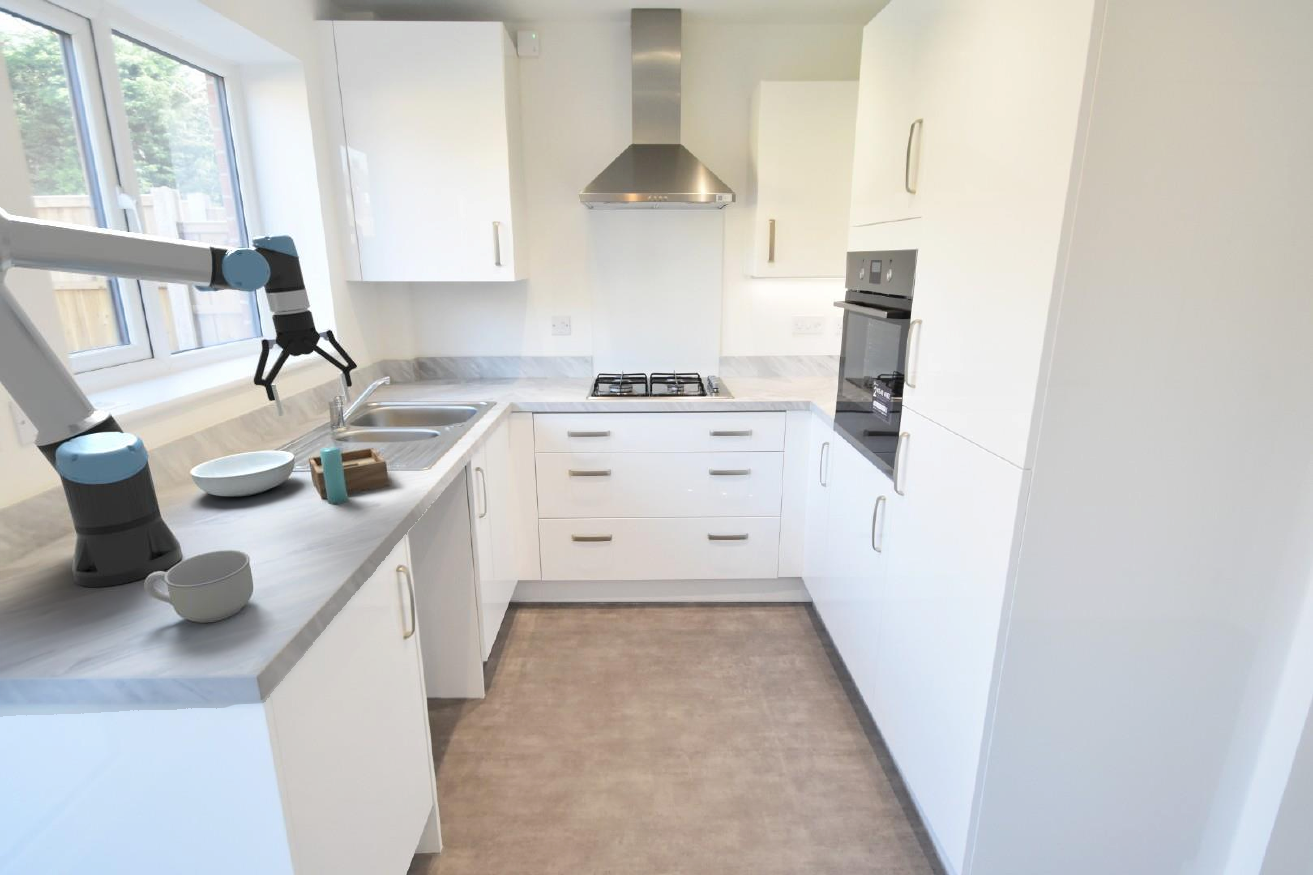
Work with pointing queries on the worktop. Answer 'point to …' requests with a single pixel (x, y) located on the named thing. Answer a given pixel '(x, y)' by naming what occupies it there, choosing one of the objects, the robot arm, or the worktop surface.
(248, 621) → the worktop surface
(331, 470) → the peg
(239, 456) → the serving bowl
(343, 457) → the bore box
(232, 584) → the teacup
